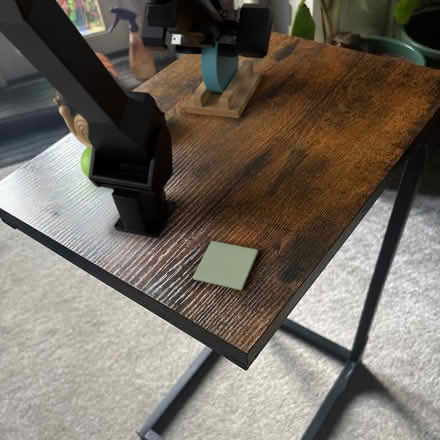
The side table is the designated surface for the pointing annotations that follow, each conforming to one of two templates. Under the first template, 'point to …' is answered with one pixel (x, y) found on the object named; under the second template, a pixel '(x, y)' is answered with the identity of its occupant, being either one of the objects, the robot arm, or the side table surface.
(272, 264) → the side table surface
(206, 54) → the disc
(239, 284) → the felt pad
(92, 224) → the side table surface
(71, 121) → the snail figurine
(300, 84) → the side table surface
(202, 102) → the rack
